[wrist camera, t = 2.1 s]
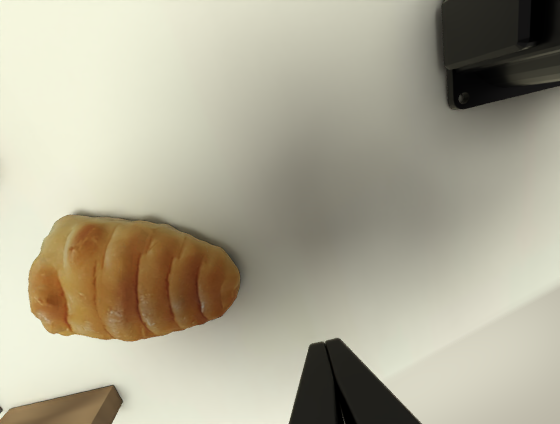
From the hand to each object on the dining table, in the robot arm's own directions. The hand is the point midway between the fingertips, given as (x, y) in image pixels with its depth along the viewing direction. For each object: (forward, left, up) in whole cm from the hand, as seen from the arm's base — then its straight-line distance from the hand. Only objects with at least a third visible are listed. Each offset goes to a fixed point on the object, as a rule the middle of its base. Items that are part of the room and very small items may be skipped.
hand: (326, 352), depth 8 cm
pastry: (+9, 0, -9) cm, 12 cm away
